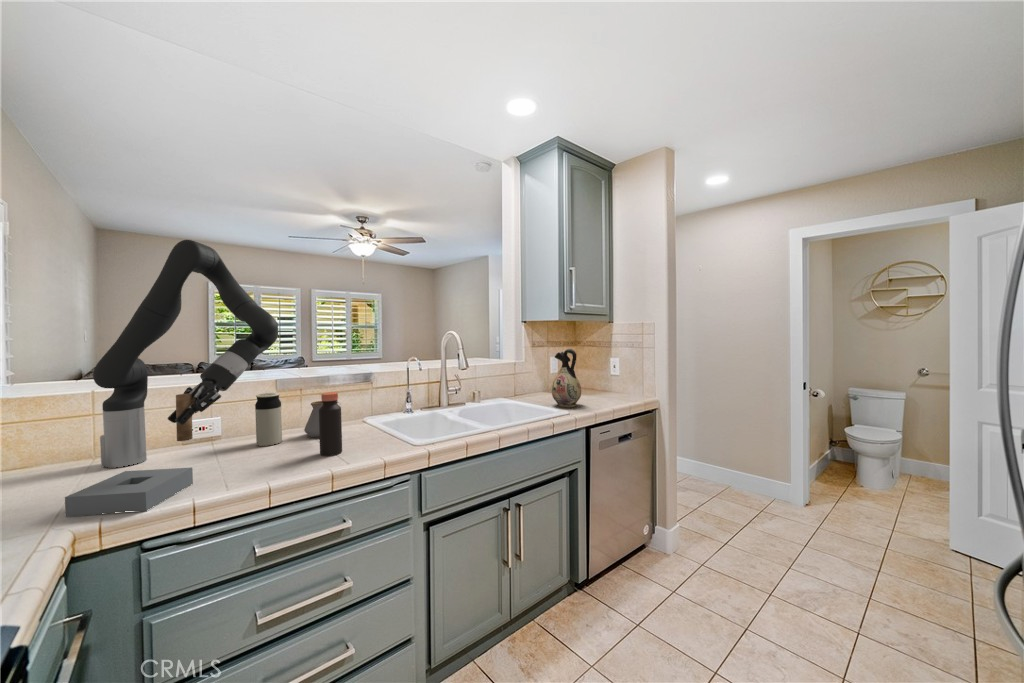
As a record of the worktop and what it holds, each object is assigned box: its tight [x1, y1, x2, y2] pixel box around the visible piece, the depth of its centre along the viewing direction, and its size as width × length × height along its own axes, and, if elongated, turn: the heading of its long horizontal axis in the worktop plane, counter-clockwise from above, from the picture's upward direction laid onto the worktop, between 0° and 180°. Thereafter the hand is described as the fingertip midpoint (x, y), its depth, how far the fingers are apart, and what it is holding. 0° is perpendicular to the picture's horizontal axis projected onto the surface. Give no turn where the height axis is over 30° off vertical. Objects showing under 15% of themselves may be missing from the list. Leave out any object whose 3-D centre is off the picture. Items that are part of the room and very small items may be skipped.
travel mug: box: [254, 392, 283, 447], centre depth 142 cm, size 8×8×18 cm
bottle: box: [318, 391, 343, 457], centre depth 130 cm, size 7×7×20 cm
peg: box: [175, 393, 193, 442], centre depth 104 cm, size 3×3×12 cm
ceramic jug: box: [551, 348, 582, 408], centre depth 203 cm, size 17×15×30 cm
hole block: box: [64, 466, 194, 518], centre depth 96 cm, size 16×16×4 cm
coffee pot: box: [303, 400, 340, 438], centre depth 149 cm, size 21×12×15 cm, turn 48°
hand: (175, 421), depth 102 cm, fingers closed on peg, 3 cm apart
